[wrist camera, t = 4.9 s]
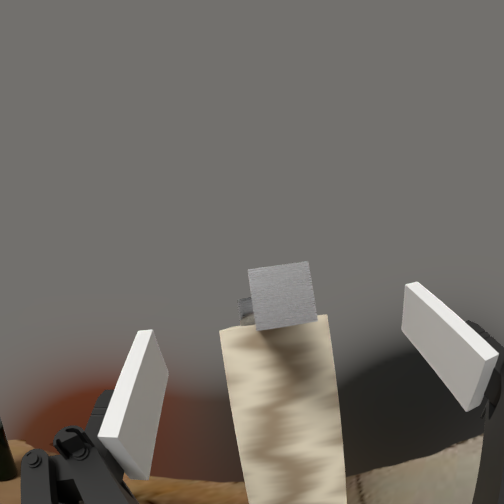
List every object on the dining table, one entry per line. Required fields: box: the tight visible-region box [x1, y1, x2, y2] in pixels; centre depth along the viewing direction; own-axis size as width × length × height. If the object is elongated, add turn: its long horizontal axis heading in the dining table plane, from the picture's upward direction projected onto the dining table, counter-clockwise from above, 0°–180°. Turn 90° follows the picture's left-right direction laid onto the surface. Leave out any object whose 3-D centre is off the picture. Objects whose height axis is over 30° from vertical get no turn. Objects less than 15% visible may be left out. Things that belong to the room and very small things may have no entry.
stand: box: [219, 315, 347, 504], centre depth 30 cm, size 9×16×34 cm, turn 179°
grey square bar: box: [237, 261, 318, 331], centre depth 28 cm, size 6×25×5 cm, turn 179°
